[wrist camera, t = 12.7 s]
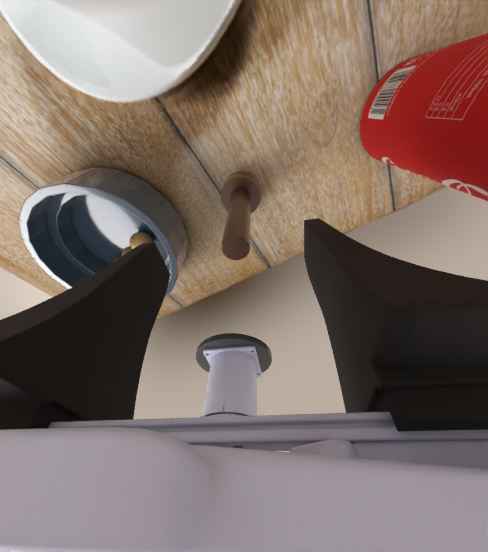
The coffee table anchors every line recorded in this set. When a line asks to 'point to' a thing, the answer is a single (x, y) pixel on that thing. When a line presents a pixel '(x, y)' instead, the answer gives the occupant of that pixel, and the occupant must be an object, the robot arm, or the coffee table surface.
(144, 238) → the bead
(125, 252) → the bead
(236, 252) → the muddler
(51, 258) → the bowl
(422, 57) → the beverage can
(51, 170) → the coffee table surface
